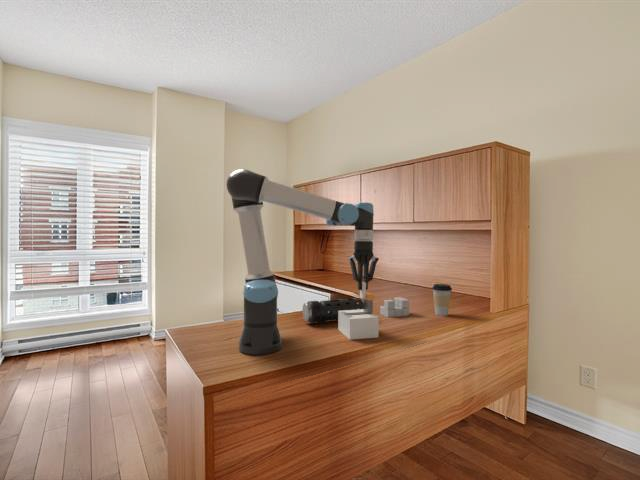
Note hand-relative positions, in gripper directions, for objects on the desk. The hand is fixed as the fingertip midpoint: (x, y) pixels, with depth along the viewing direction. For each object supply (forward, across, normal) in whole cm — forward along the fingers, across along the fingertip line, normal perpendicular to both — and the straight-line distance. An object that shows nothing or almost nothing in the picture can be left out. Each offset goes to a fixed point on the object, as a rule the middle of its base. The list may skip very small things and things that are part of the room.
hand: (362, 297), depth 134 cm
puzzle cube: (+15, +28, +27) cm, 41 cm away
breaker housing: (+14, -2, 0) cm, 15 cm away
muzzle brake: (+15, -6, +20) cm, 26 cm away
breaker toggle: (+6, +2, 0) cm, 6 cm away
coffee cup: (+14, +51, +18) cm, 56 cm away
